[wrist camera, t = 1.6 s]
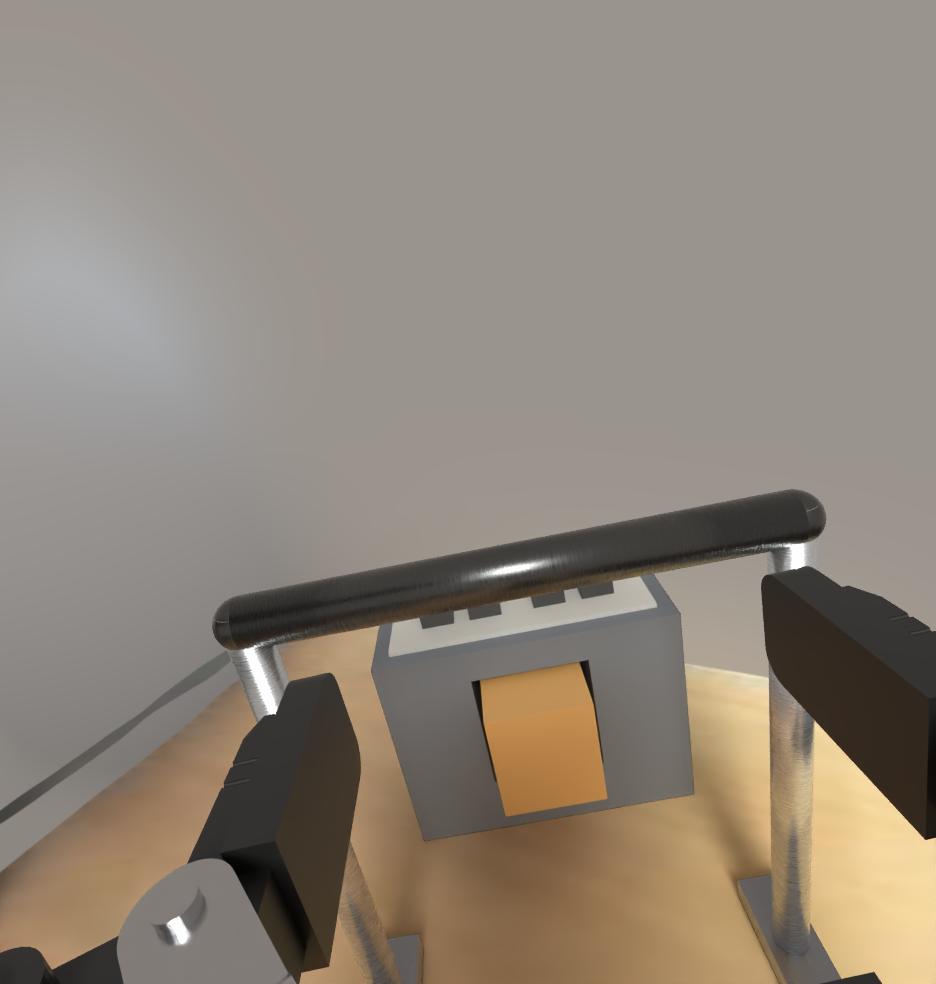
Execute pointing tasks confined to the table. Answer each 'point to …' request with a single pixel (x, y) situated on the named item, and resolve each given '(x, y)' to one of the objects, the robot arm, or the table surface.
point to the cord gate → (542, 570)
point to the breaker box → (524, 647)
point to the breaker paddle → (543, 739)
